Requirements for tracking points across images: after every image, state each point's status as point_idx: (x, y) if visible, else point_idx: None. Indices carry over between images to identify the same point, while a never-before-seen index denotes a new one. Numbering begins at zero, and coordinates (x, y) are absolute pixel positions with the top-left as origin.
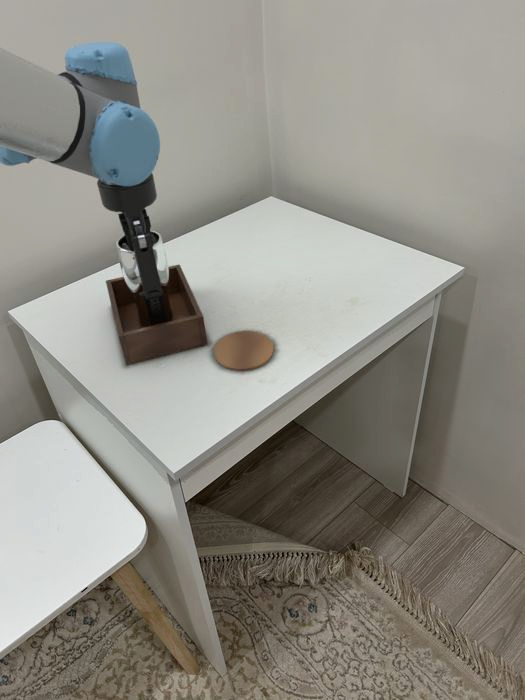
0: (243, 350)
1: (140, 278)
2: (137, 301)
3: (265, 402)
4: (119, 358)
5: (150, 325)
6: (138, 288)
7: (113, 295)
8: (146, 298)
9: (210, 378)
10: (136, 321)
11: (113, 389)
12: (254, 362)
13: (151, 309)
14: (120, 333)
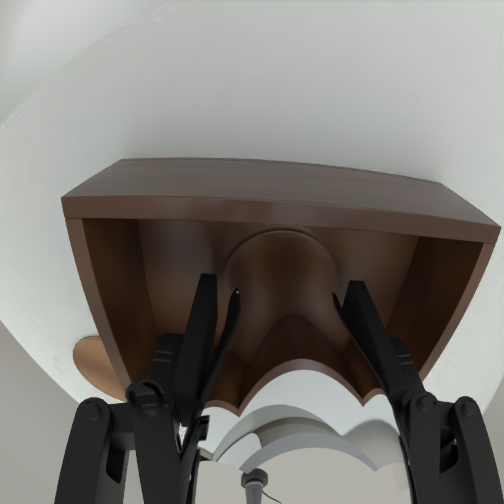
0: (115, 375)
1: (158, 470)
2: (246, 323)
3: (22, 344)
4: (160, 141)
5: (198, 284)
6: (199, 403)
7: (397, 231)
8: (81, 403)
9: (58, 311)
10: (323, 229)
11: (48, 121)
12: (86, 372)
13: (172, 345)
14: (76, 207)
